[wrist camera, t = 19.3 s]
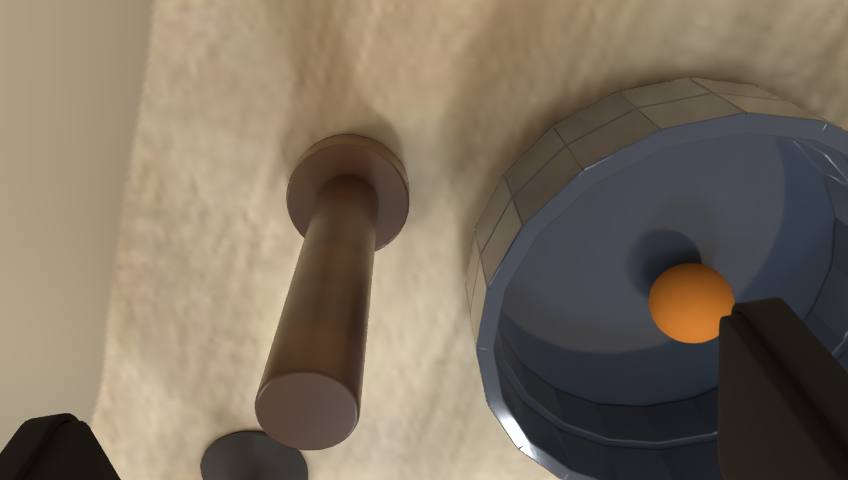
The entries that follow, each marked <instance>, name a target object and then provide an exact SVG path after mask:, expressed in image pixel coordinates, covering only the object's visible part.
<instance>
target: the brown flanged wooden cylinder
mask: <svg viewBox="0 0 848 480" xmlns="http://www.w3.org/2000/svg"><path fill="white" fill-rule="evenodd" d="M286 200H287V208H288V212H289V215H290V218H291V220H292V222H293V224H294V226H295V228H296V229H297V230H298V232H299V233H300V234H301V235H302V236H303V237H304V238H305V239H304V242H303V245H302V249H301V252H300V255H299V258H298V262H297V265H296V268H295V271H294V275H293V278H292V281H291V285H290V288H289V291H288V294H287V298H286V301H285V304H284V307H283V311H282V314H281V317H280V321H279V324H278V327H277V330H276V334H275V337H274V340H273V343H272V347H271V350H270V353H269V357H268V360H267V363H266V366H265V370H264V373H263V376H262V379H261V383H260V386H259V389H258V392H257V396H256V400H255V413H256V416H257V419H258V422H259V424H260V426H261V427H262V429H263V430H264V431H265V432H266V433H267V434H268V435H269V436H270V437H271V438H272V439H274V440H275V441H277V442H279V443H281V444H283V445H285V446H288V447H291V448H294V449H299V450H321V449H325V448H329V447H332V446H334V445H336V444H338V443H340V442H342V441H343V440H345V439H346V438H347V437H348V436H349V435H350V434H351V433H352V432H353V430H354V429H355V427H356V425H357V423H358V420H359V417H360V407H361V396H362V384H363V373H364V362H365V351H366V340H367V329H368V318H369V307H370V296H371V284H372V273H373V262H374V252H375V251H377V250H379V249H381V248H383V247H385V246H386V245H387V244H389V243H390V242H391V241H392V240H393V239H394V238H395V237H396V236H397V235H398V234H399V232H400V231H401V229H402V228H403V226H404V224H405V221H406V219H407V215H408V211H409V184H408V179H407V175H406V172H405V170H404V168H403V166H402V164H401V163H400V161H399V160H398V159H397V157H396V156H395V155H394V154H393V153H392V152H391V151H390V150H389V149H388V148H386V147H385V146H383V145H382V144H380V143H378V142H376V141H375V140H372V139H369V138H367V137H363V136H358V135H338V136H333V137H329V138H326V139H324V140H321V141H319V142H318V143H316V144H314V145H313V146H312V147H310V148H309V149H308V150H307V151H306V152H305V153H304V154H303V155H302V156H301V158H300V159H299V161H298V162H297V164H296V166H295V168H294V171H293V173H292V175H291V178H290V180H289V183H288V188H287V197H286Z"/></svg>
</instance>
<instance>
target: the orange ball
mask: <svg viewBox="0 0 848 480" xmlns="http://www.w3.org/2000/svg"><path fill="white" fill-rule="evenodd" d="M734 304H735V301H734V295H733V292H732V289H731V287H730V285H729V284H728V282H727V281H726V280H725V278H724V277H723V276H722V275H721V274H719V273H718V272H717V271H715V270H714V269H712V268H710V267H708V266H705V265H701V264H696V263H684V264H679V265H676V266H673V267H671V268H669V269H667V270H666V271H664V272H663V273H662V274H661V275H660V276H659V277H658V278H657V279H656V280H655V282H654V284H653V286H652V288H651V290H650V295H649V309H650V313H651V316H652V318H653V320H654V322H655V324H656V325H657V326H658V327H659V329H660V330H661V331H662V332H664V333H665V334H666V335H668V336H669V337H671V338H673V339H675V340H677V341H681V342H685V343H702V342H706V341H709V340H711V339H714V338H715V337H717V336H718V335H719V322H720V319H721V317H723V316H727V315H731V309H732V307H733V305H734Z"/></svg>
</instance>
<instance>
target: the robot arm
mask: <svg viewBox="0 0 848 480" xmlns="http://www.w3.org/2000/svg"><path fill="white" fill-rule="evenodd" d="M717 457H718V463H719V467H720V471H721V474H722V476H723V479H724V480H848V373H847V372H846V370H845V369H844V368H843V367H842V366H841V365H840V364H839V362H838V361H837V360H836V359H835V358H834V357H833V356H832V354H831V353H830V352H829V351H828V350H827V349H826V348H825V346H824V345H823V344H822V343H821V342H820V341H819V340H818V338H817V337H816V336H815V335H814V334H813V333H812V332H811V330H810V329H809V328H808V327H807V326H806V325H805V324H804V322H803V321H802V320H801V319H800V318H799V317H798V316H797V314H796V313H795V312H794V311H793V310H792V309H791V308H790V306H789V305H788V304H787V303H786V302H785V301H784V300H783V299H782V298H780V297H771V298H765V299H759V300H753V301H747V302H741V303H736V304H734V305H733V307H732V309H731V315H727V316H723V317H721V319H720V322H719V366H718V433H717ZM0 480H121V479H120V478H119V476H118V474H117V473H116V471H115V469H114V468H113V466H112V464H111V463H110V461H109V459H108V457H107V456H106V454H105V452H104V451H103V449H102V447H101V446H100V444H99V442H98V441H97V439H96V437H95V436H94V434H93V432H92V431H91V429H90V427H89V426H88V425H87V423H85V422H83V421H79V420H78V419H77V418H76V417H75V416H74V415H72V414H70V413H63V414H57V415H50V416H45V417H38V418H32V419H29V420H27V421H25V422H24V423H23V424H22V425H21V426H20V427H19V429H18V430H17V431H16V433H15V434H14V436H13V437H12V438H11V440H10V441H9V442H8V444H7V445H6V446H5V448H4V449H3V451H2V452H1V453H0Z"/></svg>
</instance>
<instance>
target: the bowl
mask: <svg viewBox="0 0 848 480" xmlns="http://www.w3.org/2000/svg"><path fill="white" fill-rule="evenodd" d="M684 263H696V264H701V265H705V266H708V267H710V268H712V269H714V270H715V271H717V272H718V273H719V274H721V275H722V276H723V277H724V278H725V280H726V281H727V282H728V284H729V285H730V287H731V289H732V292H733V295H734V301H735V304H736V303H741V302H747V301H753V300H759V299H765V298H771V297H780V298H782V299H783V300H784V301H785V302H786V303H787V304H788V305H789V306H790V308H791V309H792V310H793V311H794V312H795V313H796V314H797V316H798V317H799V318H800V319H801V320H802V321H803V322H804V324H805V325H806V326H807V327H808V328H809V329H810V330H811V332H812V333H813V334H814V335H815V336H816V337H817V338H818V340H819V341H820V342H821V343H822V344H823V345H824V346H825V348H826V349H827V350H828V351H829V352H830V353H831V354H832V356H833V357H834V358H835V359H836V360H837V361H838V362H839V364H840V365H841V366H842V367H843V368H844V369H845V370H846V372H847V373H848V131H846V130H844V129H842V128H840V127H838V126H836V125H835V124H833V123H831V122H829V121H827V120H825V119H823V118H821V117H819V116H817V115H815V114H813V113H811V112H809V111H807V110H805V109H803V108H801V107H799V106H797V105H795V104H793V103H791V102H789V101H787V100H785V99H783V98H781V97H779V96H777V95H775V94H773V93H771V92H769V91H767V90H765V89H763V88H761V87H759V86H757V85H752V84H743V83H734V82H725V81H717V80H708V79H699V78H682V79H677V80H672V81H667V82H662V83H657V84H652V85H647V86H643V87H638V88H633V89H628V90H623V91H619V92H618V93H617V92H615V93H613V94H611V95H609V96H607V97H606V98H604V99H602V100H600V101H598V102H596V103H594V104H592V105H591V106H589V107H587V108H585V109H583V110H581V111H579V112H577V113H576V114H574V115H572V116H570V117H568V118H566V119H564V120H562V121H561V122H559V123H557V124H555V125H554V126H553V127H551V128H550V129H549V130H548V131H547V132H546V133H545V134H544V135H543V136H542V137H541V138H540V139H539V140H538V141H537V142H536V143H535V144H534V145H533V146H532V147H531V148H530V149H529V150H528V151H527V152H526V153H525V154H524V155H523V156H522V157H521V158H520V159H519V160H518V161H517V162H516V163H515V164H514V165H513V166H512V167H510V168H509V169H508V170H507V171H506V172H505V174H504V175H503V176H502V178H501V180H500V182H499V184H498V186H497V187H496V189H495V191H494V193H493V195H492V197H491V199H490V200H489V202H488V204H487V206H486V208H485V210H484V212H483V213H482V215H481V217H480V219H479V221H478V223H477V224H476V226H475V230H474V234H473V240H472V246H471V252H470V258H469V264H468V271H467V277H466V292H467V298H468V304H469V310H470V317H471V323H472V329H473V335H474V342H475V348H476V353H477V358H478V363H479V368H480V373H481V377H482V382H483V387H484V392H485V397H486V402H487V403H488V406H489V407H490V409H491V410H492V412H493V413H494V415H495V416H496V418H497V419H498V421H499V422H500V424H501V425H502V427H503V428H504V430H505V431H506V433H507V434H508V436H509V437H510V438H511V440H512V441H513V443H514V444H515V446H516V447H517V448H518V449H519V450H520V451H522V452H523V453H524V454H526V455H527V456H529V457H530V458H531V459H533V460H534V461H536V462H537V463H538V464H540V465H541V466H543V467H544V468H545V469H547V470H548V471H550V472H551V473H552V474H554V475H555V476H557V477H558V478H559V479H562V480H724V479H723V476H722V474H721V471H720V467H719V463H718V457H717V433H718V366H719V335H718V336H717V337H715V338H714V339H711V340H709V341H706V342H702V343H685V342H681V341H677V340H675V339H673V338H671V337H669V336H668V335H666V334H665V333H664V332H662V331H661V330H660V329H659V327H658V326H657V325H656V324H655V322H654V320H653V318H652V316H651V313H650V309H649V295H650V290H651V288H652V286H653V284H654V282H655V280H656V279H657V278H658V277H659V276H660V275H661V274H662V273H663V272H664V271H666V270H667V269H669V268H671V267H673V266H676V265H679V264H684Z"/></svg>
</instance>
